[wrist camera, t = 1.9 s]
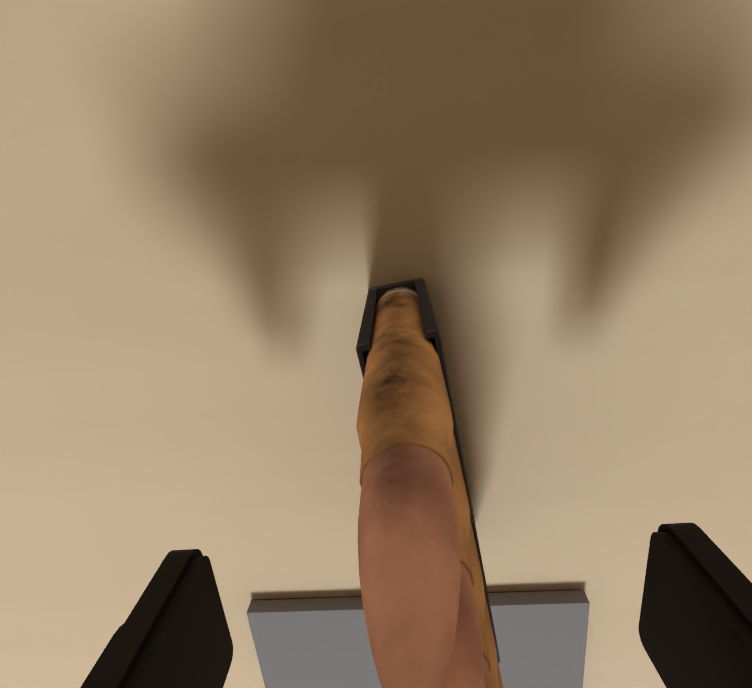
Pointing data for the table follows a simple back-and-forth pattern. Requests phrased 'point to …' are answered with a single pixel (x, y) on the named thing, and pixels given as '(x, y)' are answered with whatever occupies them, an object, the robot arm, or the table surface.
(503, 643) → the mat
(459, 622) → the ammunition clip
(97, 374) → the table surface
